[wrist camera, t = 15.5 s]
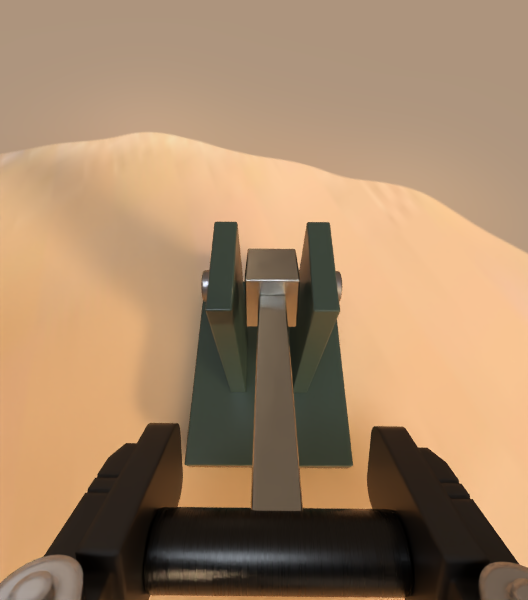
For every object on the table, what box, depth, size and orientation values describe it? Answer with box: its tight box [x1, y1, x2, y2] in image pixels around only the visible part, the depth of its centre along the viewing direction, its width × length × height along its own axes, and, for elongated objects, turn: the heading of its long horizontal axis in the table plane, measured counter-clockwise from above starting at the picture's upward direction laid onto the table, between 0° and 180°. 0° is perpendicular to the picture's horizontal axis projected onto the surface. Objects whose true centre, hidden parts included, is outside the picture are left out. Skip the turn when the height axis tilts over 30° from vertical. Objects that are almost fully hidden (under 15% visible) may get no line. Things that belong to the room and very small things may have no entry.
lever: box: [143, 249, 414, 598], centre depth 11 cm, size 12×5×2 cm, turn 0°
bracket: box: [185, 222, 353, 468], centre depth 19 cm, size 13×10×13 cm
